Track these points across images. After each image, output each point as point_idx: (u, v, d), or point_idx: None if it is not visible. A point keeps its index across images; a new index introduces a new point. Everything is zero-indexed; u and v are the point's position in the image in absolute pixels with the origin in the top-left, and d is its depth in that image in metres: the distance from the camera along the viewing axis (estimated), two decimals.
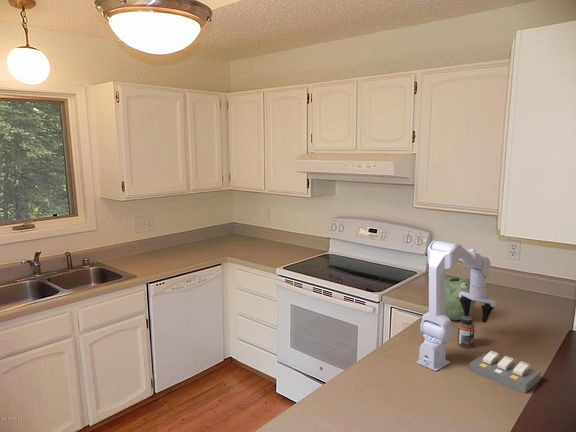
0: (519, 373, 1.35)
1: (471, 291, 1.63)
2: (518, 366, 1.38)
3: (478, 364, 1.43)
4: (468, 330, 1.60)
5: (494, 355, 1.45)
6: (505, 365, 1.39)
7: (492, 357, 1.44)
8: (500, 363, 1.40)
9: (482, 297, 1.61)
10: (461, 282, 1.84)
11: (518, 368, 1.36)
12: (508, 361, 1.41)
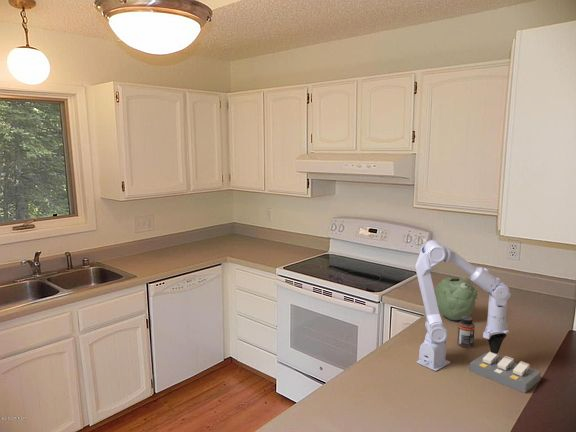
0: (519, 373, 1.35)
1: None
2: (518, 366, 1.38)
3: (478, 364, 1.43)
4: (468, 330, 1.60)
5: (494, 355, 1.45)
6: (505, 365, 1.39)
7: (492, 357, 1.44)
8: (500, 363, 1.40)
9: (490, 327, 1.44)
10: (461, 282, 1.84)
11: (518, 368, 1.36)
12: (508, 361, 1.41)
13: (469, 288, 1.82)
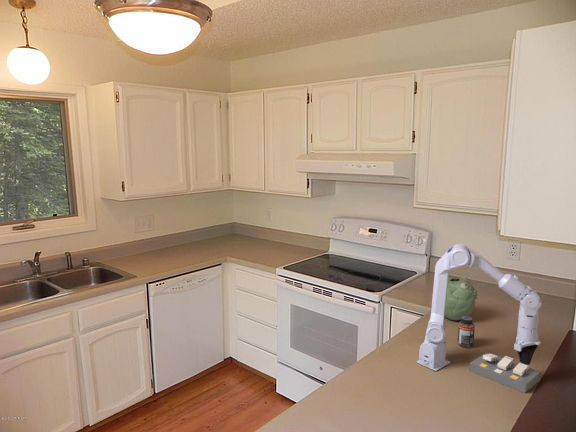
0: (519, 373, 1.35)
1: None
2: (518, 366, 1.38)
3: (478, 364, 1.43)
4: (468, 330, 1.60)
5: (494, 356, 1.45)
6: (505, 365, 1.39)
7: (492, 356, 1.44)
8: (500, 363, 1.40)
9: (520, 338, 1.36)
10: (461, 282, 1.84)
11: (518, 368, 1.36)
12: (508, 361, 1.41)
13: (469, 288, 1.82)
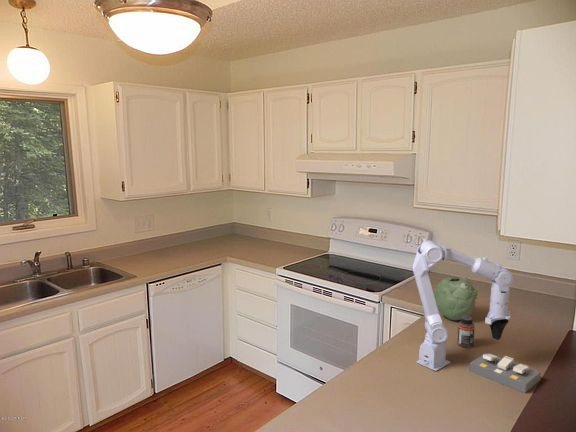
0: (519, 370, 1.35)
1: None
2: (518, 366, 1.38)
3: (478, 364, 1.43)
4: (468, 330, 1.60)
5: (494, 356, 1.45)
6: (505, 365, 1.39)
7: (492, 356, 1.44)
8: (500, 363, 1.40)
9: (492, 313, 1.44)
10: (461, 282, 1.84)
11: (518, 367, 1.37)
12: (508, 361, 1.41)
13: (469, 288, 1.82)
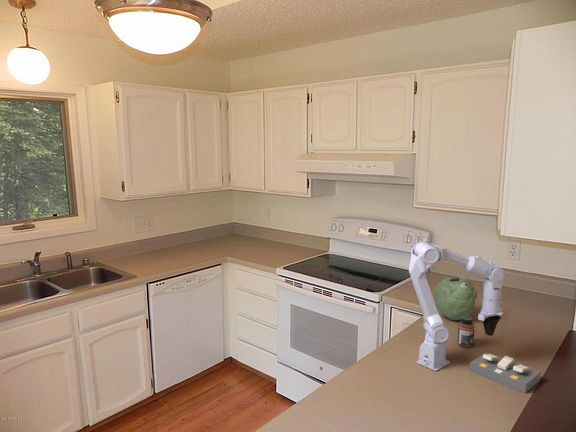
0: (519, 369, 1.35)
1: None
2: (518, 365, 1.38)
3: (478, 364, 1.43)
4: (468, 330, 1.60)
5: (494, 356, 1.45)
6: (505, 365, 1.39)
7: (492, 356, 1.44)
8: (500, 363, 1.40)
9: (485, 309, 1.47)
10: (461, 282, 1.84)
11: (518, 366, 1.37)
12: (508, 361, 1.41)
13: (469, 288, 1.82)
